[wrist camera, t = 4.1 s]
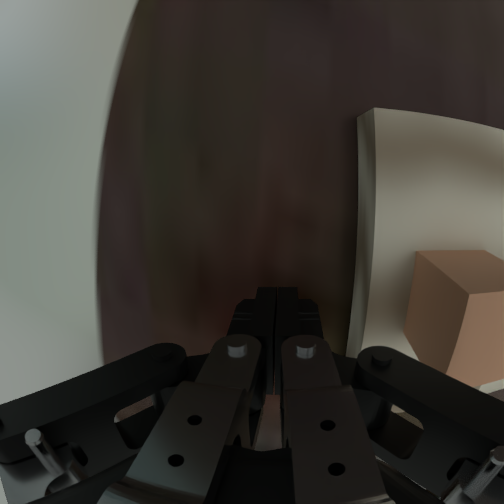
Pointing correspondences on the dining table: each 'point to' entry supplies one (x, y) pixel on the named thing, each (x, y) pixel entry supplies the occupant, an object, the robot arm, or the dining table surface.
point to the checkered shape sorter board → (418, 212)
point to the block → (458, 314)
